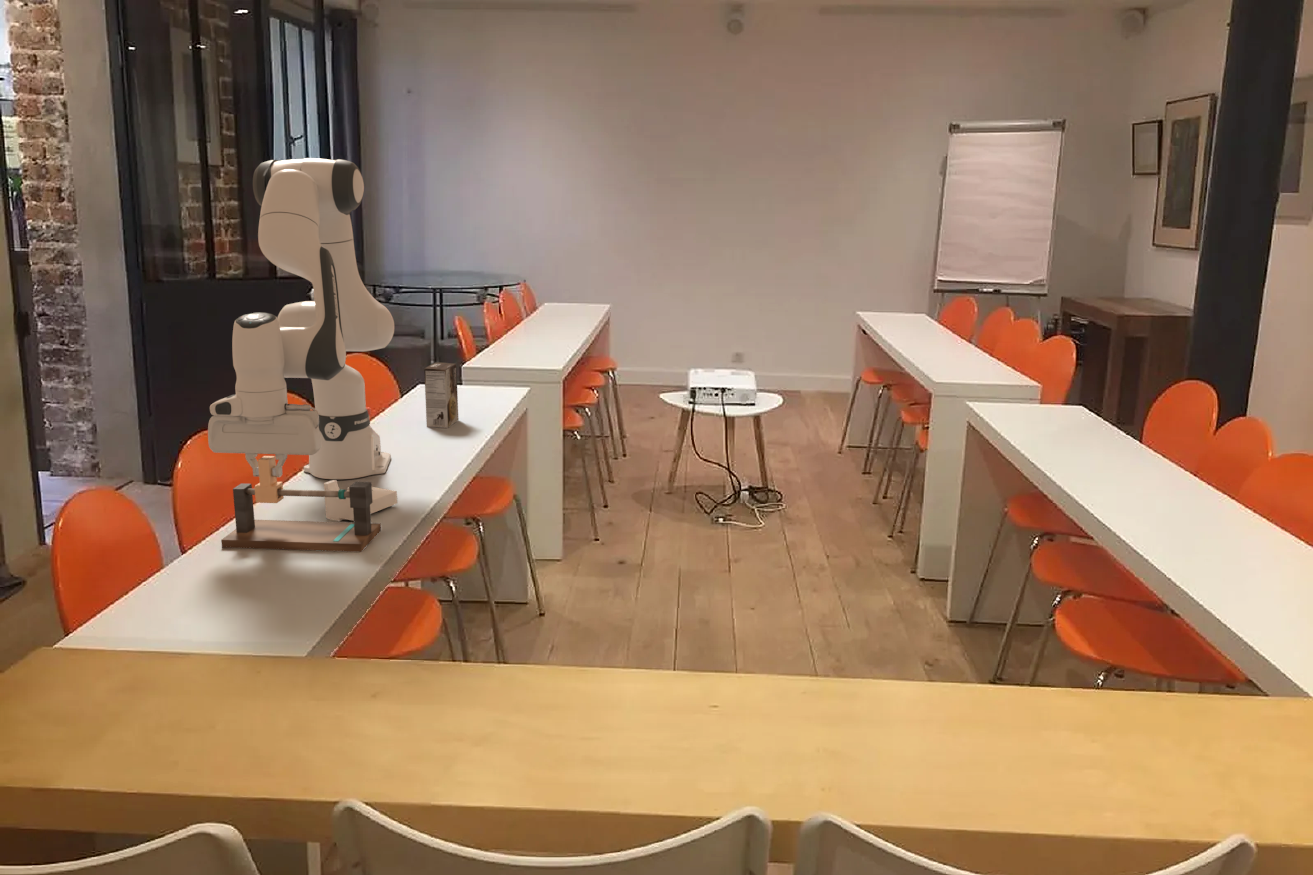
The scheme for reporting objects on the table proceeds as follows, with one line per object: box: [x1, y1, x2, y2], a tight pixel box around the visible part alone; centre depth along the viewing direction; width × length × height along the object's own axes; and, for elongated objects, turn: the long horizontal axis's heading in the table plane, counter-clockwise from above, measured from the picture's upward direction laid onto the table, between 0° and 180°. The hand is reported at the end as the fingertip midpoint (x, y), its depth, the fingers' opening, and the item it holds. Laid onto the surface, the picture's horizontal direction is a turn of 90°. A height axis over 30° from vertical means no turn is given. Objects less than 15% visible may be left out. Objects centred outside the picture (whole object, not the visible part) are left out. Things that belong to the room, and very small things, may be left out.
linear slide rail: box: [221, 481, 382, 553], centre depth 206 cm, size 12×26×11 cm, turn 86°
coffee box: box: [423, 361, 460, 429], centre depth 298 cm, size 9×6×16 cm
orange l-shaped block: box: [253, 455, 284, 504], centre depth 205 cm, size 3×4×8 cm
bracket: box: [323, 479, 398, 522], centre depth 223 cm, size 13×7×8 cm, turn 152°
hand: (268, 476), depth 205 cm, fingers closed on orange l-shaped block, 2 cm apart
